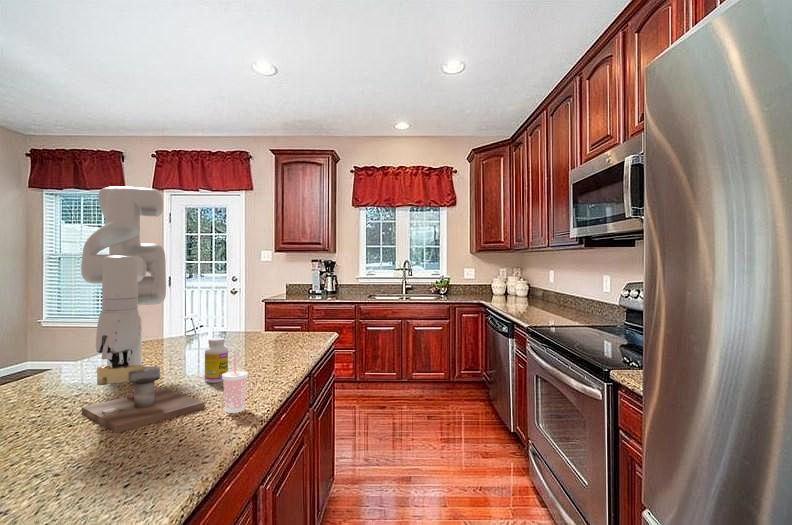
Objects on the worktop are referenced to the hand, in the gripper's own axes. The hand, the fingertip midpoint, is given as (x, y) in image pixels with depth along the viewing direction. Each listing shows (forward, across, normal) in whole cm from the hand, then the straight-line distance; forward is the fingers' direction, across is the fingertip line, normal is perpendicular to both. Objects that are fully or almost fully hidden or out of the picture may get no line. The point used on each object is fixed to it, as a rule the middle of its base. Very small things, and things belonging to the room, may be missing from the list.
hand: (120, 378), depth 111 cm
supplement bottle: (+8, -28, +10) cm, 31 cm away
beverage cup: (+8, -3, +28) cm, 30 cm away
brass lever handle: (0, +2, +4) cm, 4 cm away
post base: (+8, 0, +7) cm, 10 cm away
